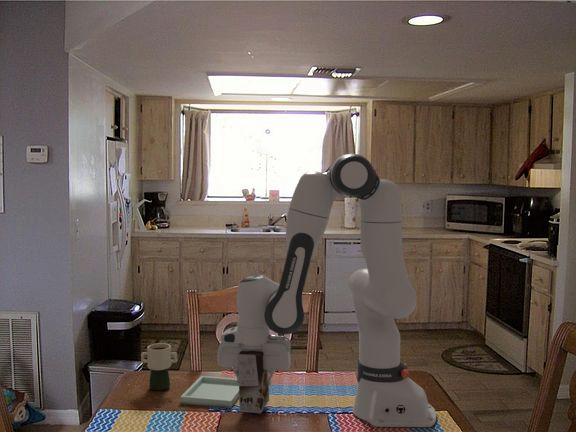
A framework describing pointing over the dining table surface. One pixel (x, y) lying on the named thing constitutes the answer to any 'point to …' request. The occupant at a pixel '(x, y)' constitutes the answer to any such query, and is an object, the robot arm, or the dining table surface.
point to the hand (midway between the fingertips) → (254, 383)
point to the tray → (212, 392)
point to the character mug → (159, 364)
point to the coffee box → (252, 382)
